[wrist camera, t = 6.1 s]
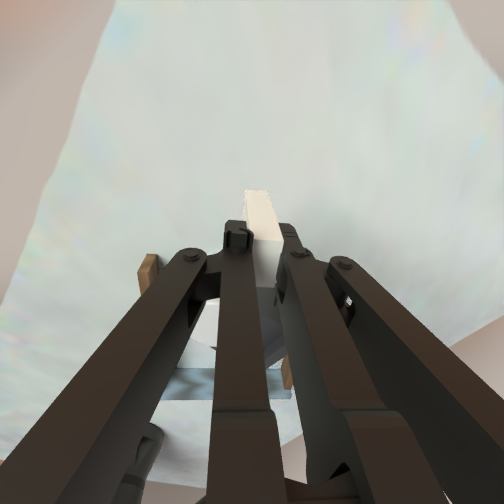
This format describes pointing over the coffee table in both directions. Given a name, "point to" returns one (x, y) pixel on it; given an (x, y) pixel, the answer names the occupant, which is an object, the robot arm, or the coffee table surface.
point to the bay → (202, 380)
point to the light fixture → (268, 320)
